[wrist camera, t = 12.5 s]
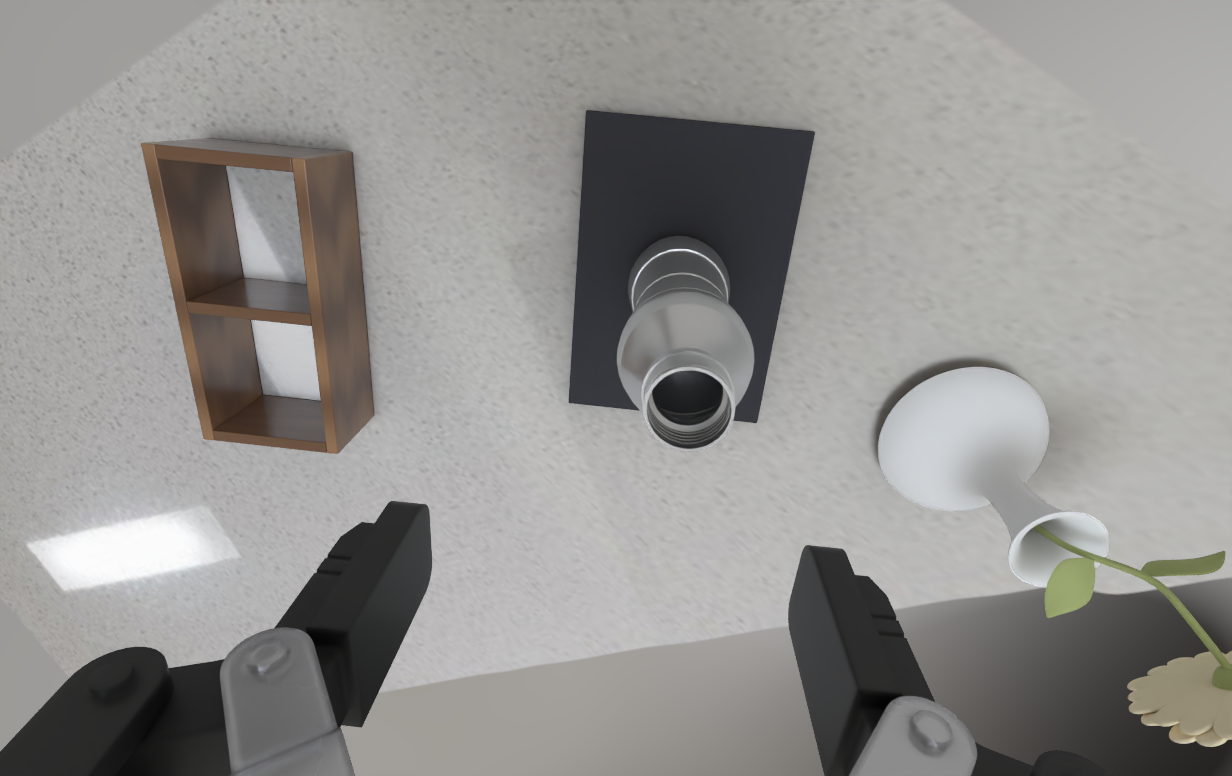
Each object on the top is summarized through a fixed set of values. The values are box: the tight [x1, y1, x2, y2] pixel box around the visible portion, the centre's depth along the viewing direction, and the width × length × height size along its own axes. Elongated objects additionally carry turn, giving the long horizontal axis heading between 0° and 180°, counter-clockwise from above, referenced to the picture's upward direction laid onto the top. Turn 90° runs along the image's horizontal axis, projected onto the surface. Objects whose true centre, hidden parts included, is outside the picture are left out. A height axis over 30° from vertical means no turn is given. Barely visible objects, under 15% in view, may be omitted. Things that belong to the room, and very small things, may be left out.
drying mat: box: [569, 110, 815, 423], centre depth 43 cm, size 20×14×1 cm
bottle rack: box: [141, 138, 374, 454], centre depth 43 cm, size 19×10×6 cm, turn 175°
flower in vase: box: [878, 367, 1232, 747], centre depth 35 cm, size 13×11×25 cm
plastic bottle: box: [617, 236, 754, 452], centre depth 33 cm, size 6×7×20 cm
